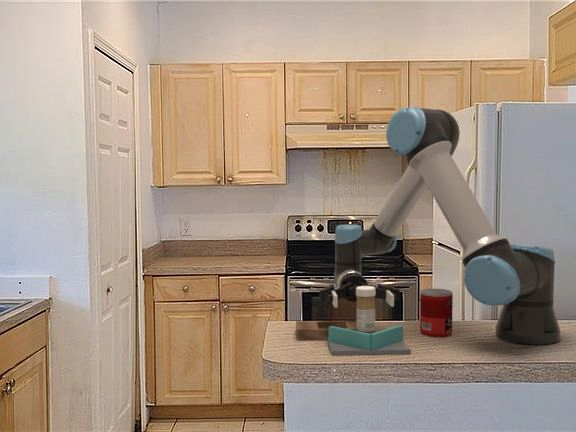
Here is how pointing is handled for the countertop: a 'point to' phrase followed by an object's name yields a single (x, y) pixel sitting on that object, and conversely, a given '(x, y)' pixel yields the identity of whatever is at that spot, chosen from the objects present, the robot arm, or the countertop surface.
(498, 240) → the robot arm
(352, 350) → the v cradle
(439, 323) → the canned food
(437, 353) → the countertop surface
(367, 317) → the sprinkles bottle
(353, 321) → the brown hollow frame
